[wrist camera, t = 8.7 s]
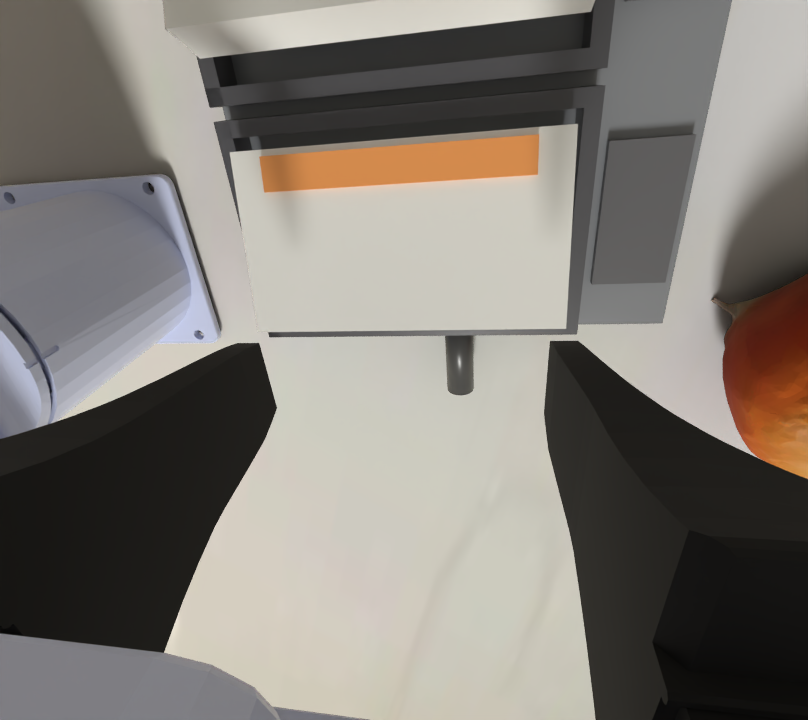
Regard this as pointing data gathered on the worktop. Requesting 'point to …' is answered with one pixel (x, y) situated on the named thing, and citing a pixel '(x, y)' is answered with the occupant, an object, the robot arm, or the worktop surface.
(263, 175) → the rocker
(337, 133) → the rocker switch panel
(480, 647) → the worktop surface
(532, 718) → the worktop surface
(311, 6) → the rocker middle
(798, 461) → the fruit
